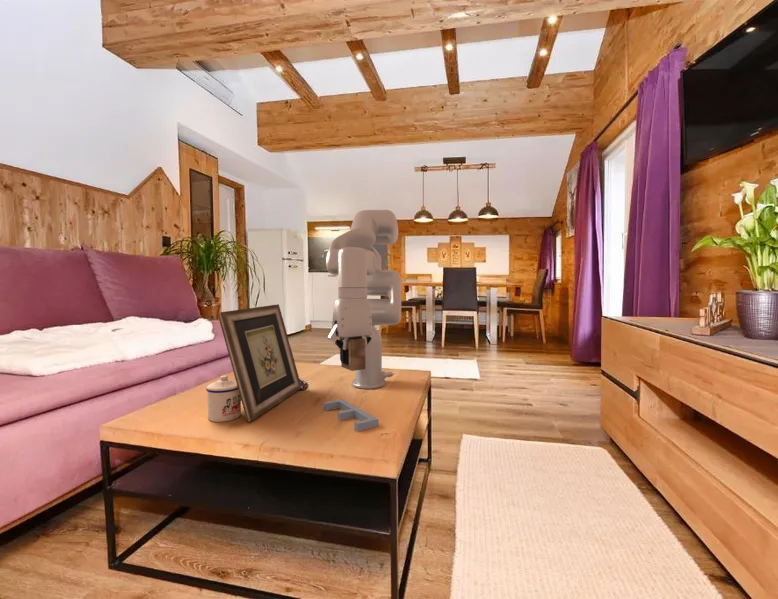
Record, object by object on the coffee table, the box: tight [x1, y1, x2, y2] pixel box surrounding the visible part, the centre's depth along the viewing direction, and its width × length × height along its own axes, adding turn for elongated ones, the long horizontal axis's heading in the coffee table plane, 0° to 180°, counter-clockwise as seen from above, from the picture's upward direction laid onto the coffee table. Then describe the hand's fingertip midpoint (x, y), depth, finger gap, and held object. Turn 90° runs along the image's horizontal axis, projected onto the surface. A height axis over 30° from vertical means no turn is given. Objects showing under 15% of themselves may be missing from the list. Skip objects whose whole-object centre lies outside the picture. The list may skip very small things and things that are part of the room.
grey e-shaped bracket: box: [323, 398, 380, 432], centre depth 110 cm, size 6×20×2 cm, turn 34°
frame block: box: [340, 337, 365, 372], centre depth 104 cm, size 4×6×8 cm
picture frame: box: [216, 304, 302, 423], centre depth 122 cm, size 33×10×30 cm, turn 168°
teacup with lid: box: [205, 375, 242, 423], centre depth 111 cm, size 12×9×12 cm
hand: (352, 362), depth 104 cm, fingers closed on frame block, 4 cm apart
